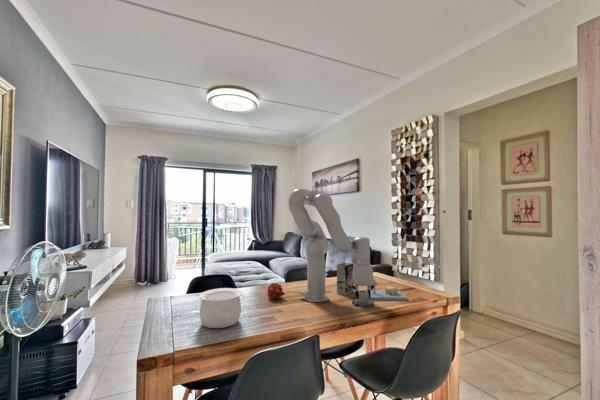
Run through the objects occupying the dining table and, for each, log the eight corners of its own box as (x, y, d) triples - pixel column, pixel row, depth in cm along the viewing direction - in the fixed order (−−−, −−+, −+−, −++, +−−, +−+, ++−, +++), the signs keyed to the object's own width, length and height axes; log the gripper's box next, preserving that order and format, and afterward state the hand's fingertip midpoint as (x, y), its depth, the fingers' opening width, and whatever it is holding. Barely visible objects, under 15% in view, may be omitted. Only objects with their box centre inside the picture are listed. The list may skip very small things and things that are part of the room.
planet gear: (353, 307, 136) (353, 294, 136) (350, 300, 146) (350, 288, 147) (376, 307, 135) (376, 294, 136) (371, 300, 146) (371, 288, 146)
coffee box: (346, 295, 156) (346, 266, 156) (336, 293, 159) (336, 264, 160) (354, 291, 163) (353, 263, 163) (344, 289, 167) (344, 262, 167)
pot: (196, 317, 124) (196, 289, 125) (235, 311, 131) (236, 285, 132) (201, 338, 104) (202, 304, 105) (247, 329, 111) (247, 298, 112)
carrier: (368, 300, 147) (368, 283, 147) (363, 292, 161) (362, 277, 161) (407, 300, 146) (406, 283, 147) (398, 292, 160) (398, 277, 161)
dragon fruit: (273, 297, 158) (279, 307, 147) (261, 290, 155) (266, 299, 144) (282, 284, 159) (288, 293, 148) (271, 277, 156) (276, 285, 145)
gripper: (346, 263, 138) (346, 300, 138) (381, 263, 138) (381, 301, 137) (344, 260, 146) (344, 296, 145) (377, 260, 145) (378, 296, 145)
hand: (362, 298), depth 141 cm, fingers closed on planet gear, 4 cm apart
